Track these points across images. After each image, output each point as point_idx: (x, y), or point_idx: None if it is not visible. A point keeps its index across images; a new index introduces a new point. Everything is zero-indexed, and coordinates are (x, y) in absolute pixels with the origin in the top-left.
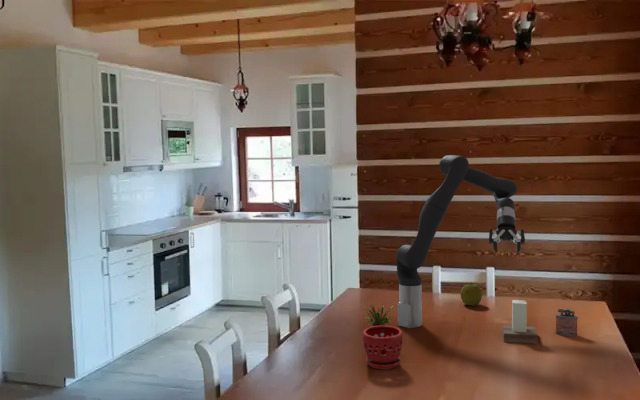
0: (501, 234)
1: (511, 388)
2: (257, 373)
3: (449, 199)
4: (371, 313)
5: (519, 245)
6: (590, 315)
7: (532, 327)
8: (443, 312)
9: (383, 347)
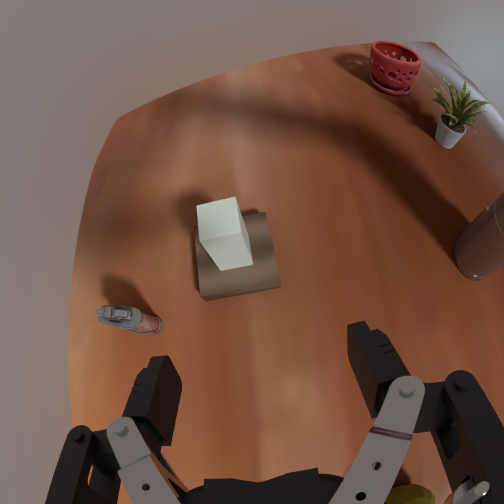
0: (346, 486)
1: (233, 77)
2: (454, 65)
3: None
4: (463, 97)
5: (136, 398)
6: None
7: (205, 286)
8: None
9: (379, 50)
